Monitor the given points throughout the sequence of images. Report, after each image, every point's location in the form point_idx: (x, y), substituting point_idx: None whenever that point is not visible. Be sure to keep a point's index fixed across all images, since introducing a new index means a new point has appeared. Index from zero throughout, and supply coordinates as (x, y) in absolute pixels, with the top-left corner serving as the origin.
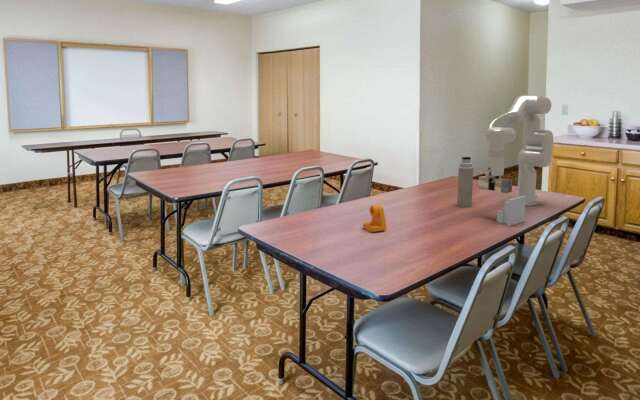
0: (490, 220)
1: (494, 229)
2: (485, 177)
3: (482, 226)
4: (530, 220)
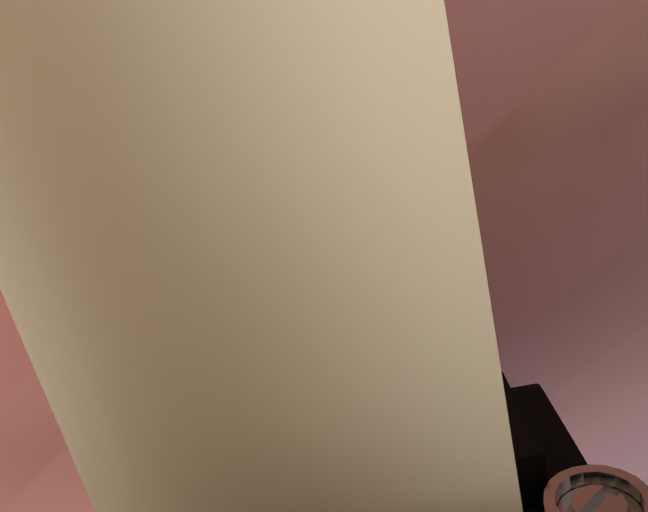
0: None
1: (85, 509)
2: (157, 342)
3: (44, 399)
4: (617, 456)
